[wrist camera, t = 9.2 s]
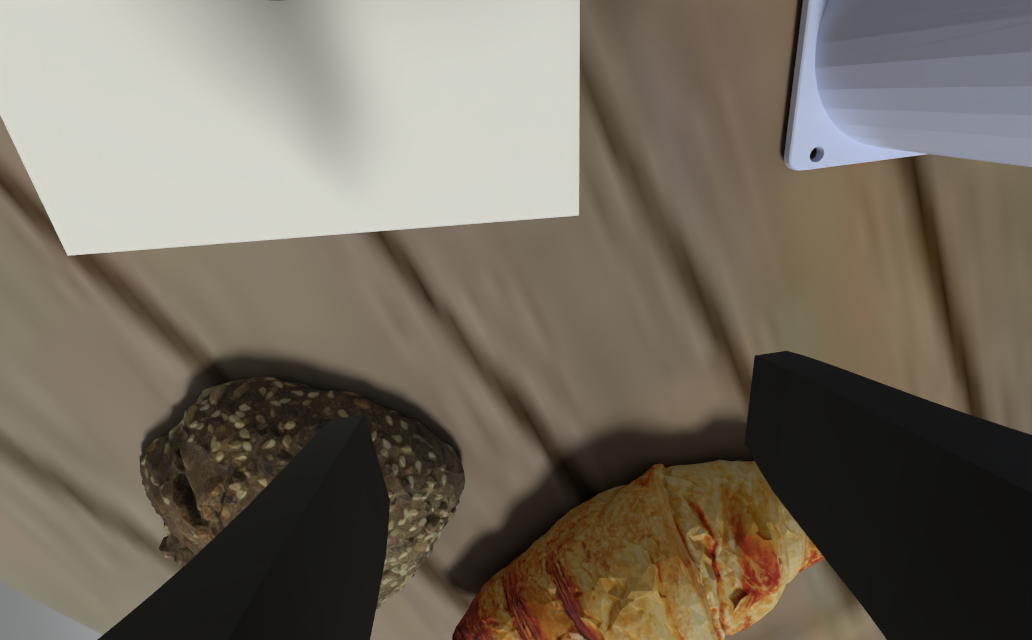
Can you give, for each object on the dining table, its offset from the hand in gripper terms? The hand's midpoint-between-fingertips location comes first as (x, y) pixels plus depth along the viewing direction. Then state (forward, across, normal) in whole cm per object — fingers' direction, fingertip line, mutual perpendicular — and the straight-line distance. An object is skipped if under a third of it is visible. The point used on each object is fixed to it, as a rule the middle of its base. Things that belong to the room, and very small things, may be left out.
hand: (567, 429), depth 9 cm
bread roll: (+11, +10, +10) cm, 18 cm away
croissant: (+11, -5, +16) cm, 20 cm away
